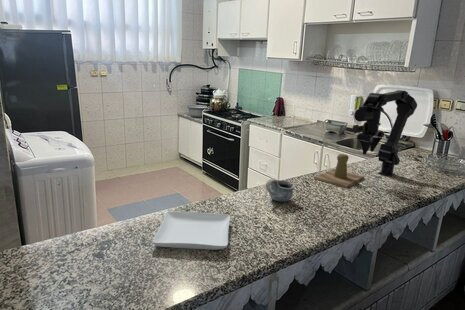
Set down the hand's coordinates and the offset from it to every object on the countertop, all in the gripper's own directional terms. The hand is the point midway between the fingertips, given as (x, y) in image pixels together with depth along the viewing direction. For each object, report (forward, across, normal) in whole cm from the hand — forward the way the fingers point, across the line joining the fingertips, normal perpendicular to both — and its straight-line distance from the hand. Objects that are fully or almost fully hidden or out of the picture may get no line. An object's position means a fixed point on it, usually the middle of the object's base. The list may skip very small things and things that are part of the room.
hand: (368, 152), depth 164 cm
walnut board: (+13, +10, -8) cm, 18 cm away
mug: (+13, +56, -12) cm, 59 cm away
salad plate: (+14, +98, -14) cm, 100 cm away
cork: (+12, +10, -8) cm, 17 cm away
